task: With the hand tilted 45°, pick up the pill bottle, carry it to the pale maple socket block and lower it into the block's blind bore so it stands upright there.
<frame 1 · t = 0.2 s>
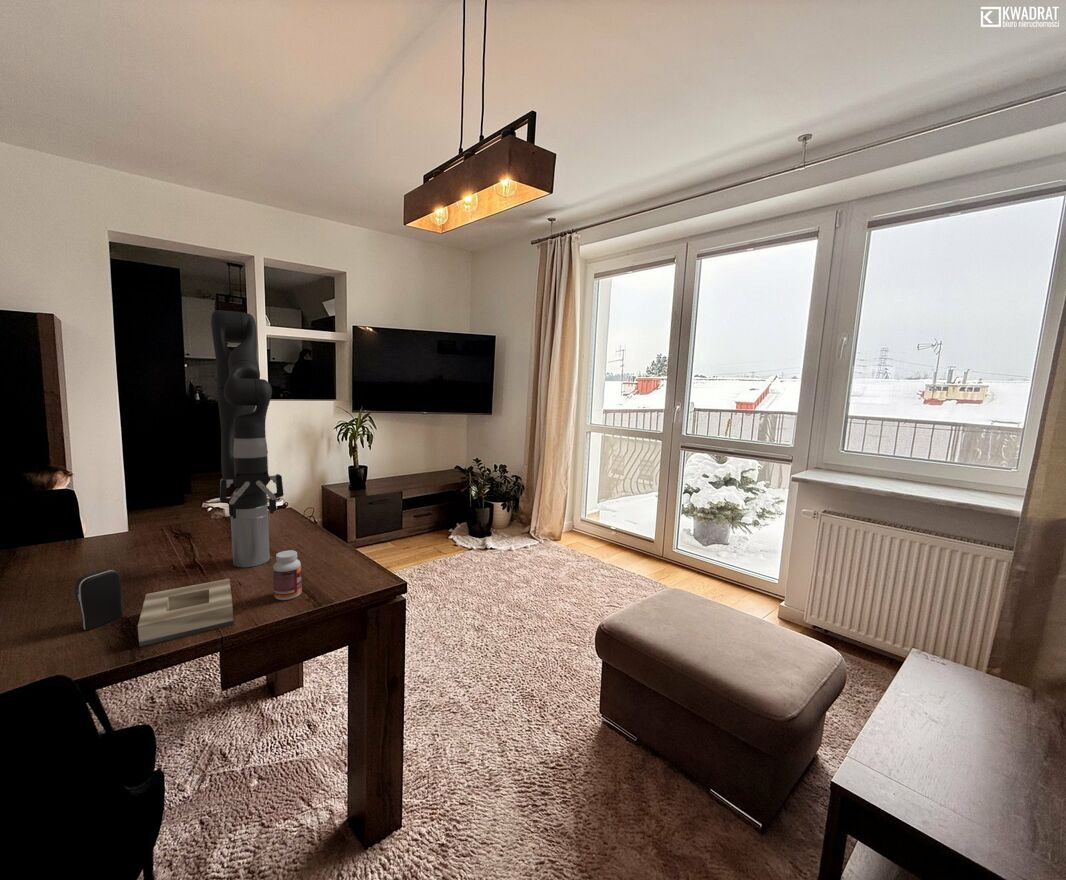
hand: (253, 515, 121), 18 cm above the table, tool pointing down, fingers open, 8 cm apart
pill bottle: (288, 595, 116), on the table
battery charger: (100, 623, 101), on the table
socket block: (189, 618, 104), on the table
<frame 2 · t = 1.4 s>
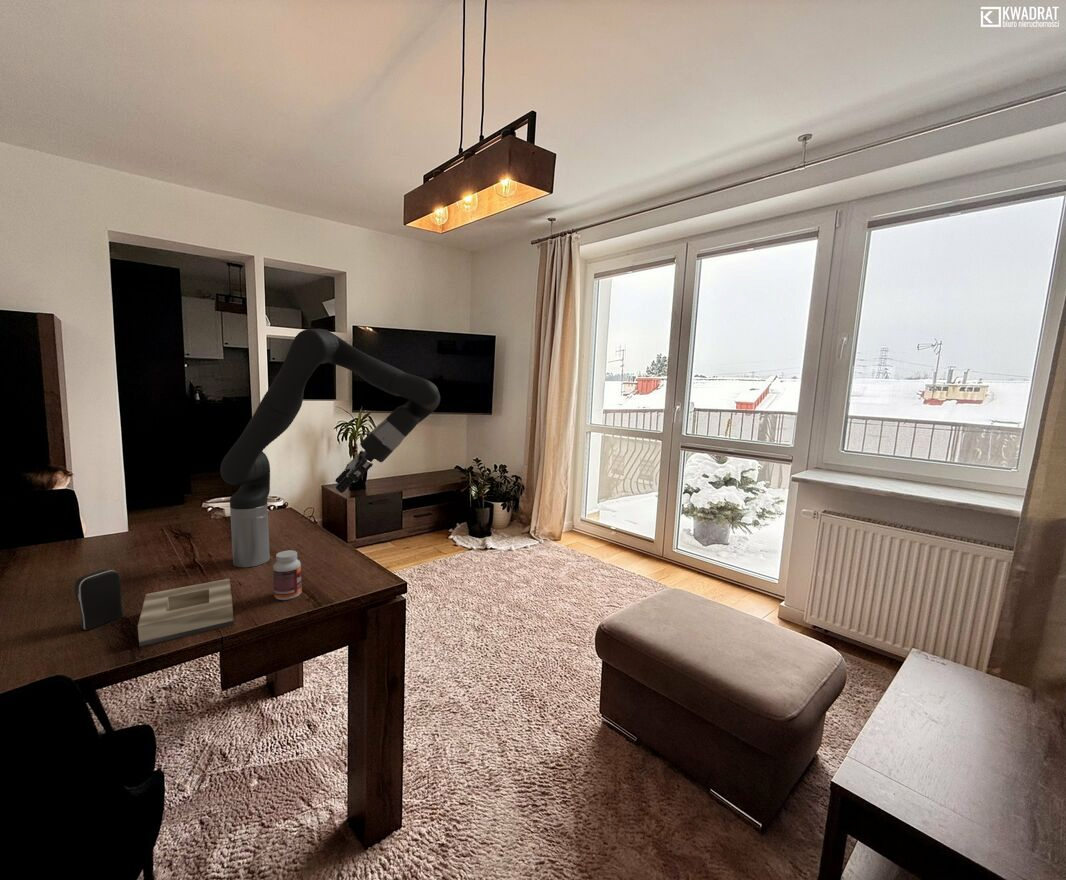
hand: (338, 486, 118), 27 cm above the table, tool tilted 45°, fingers open, 8 cm apart
nothing on the table moved.
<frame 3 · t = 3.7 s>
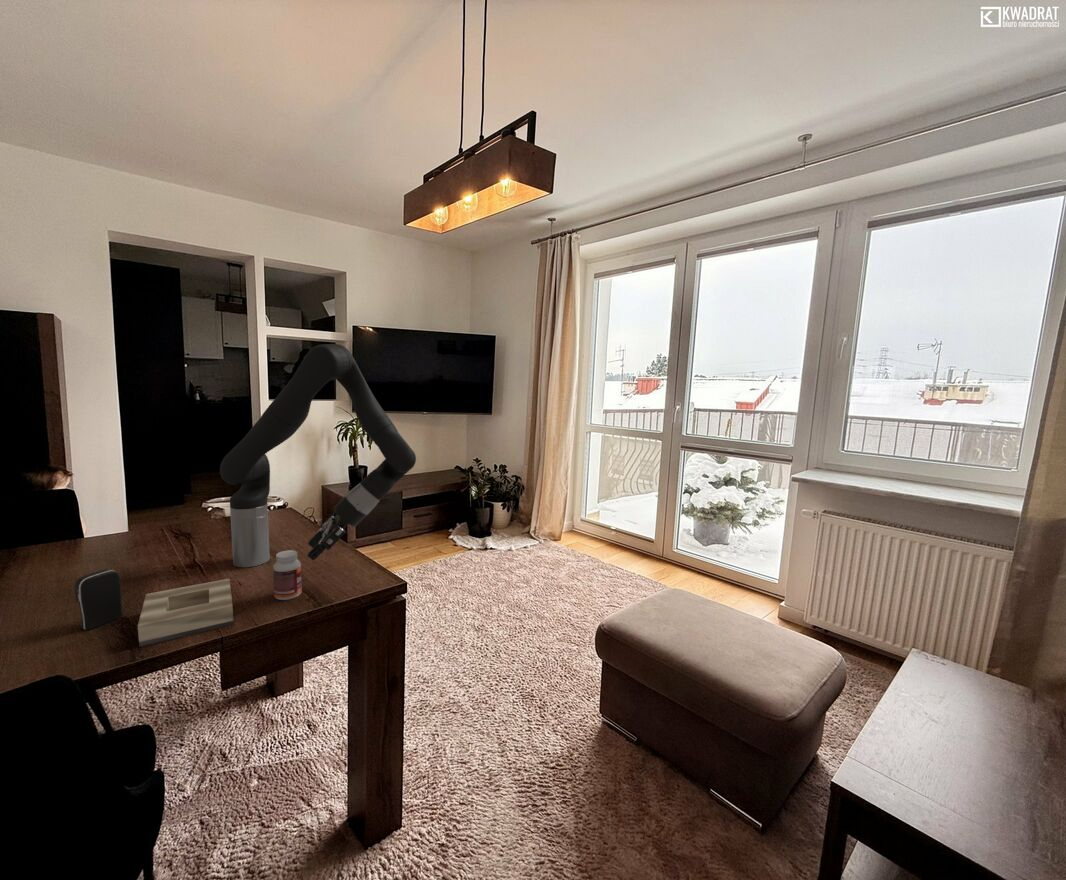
hand: (310, 551, 117), 11 cm above the table, tool tilted 45°, fingers open, 8 cm apart
nothing on the table moved.
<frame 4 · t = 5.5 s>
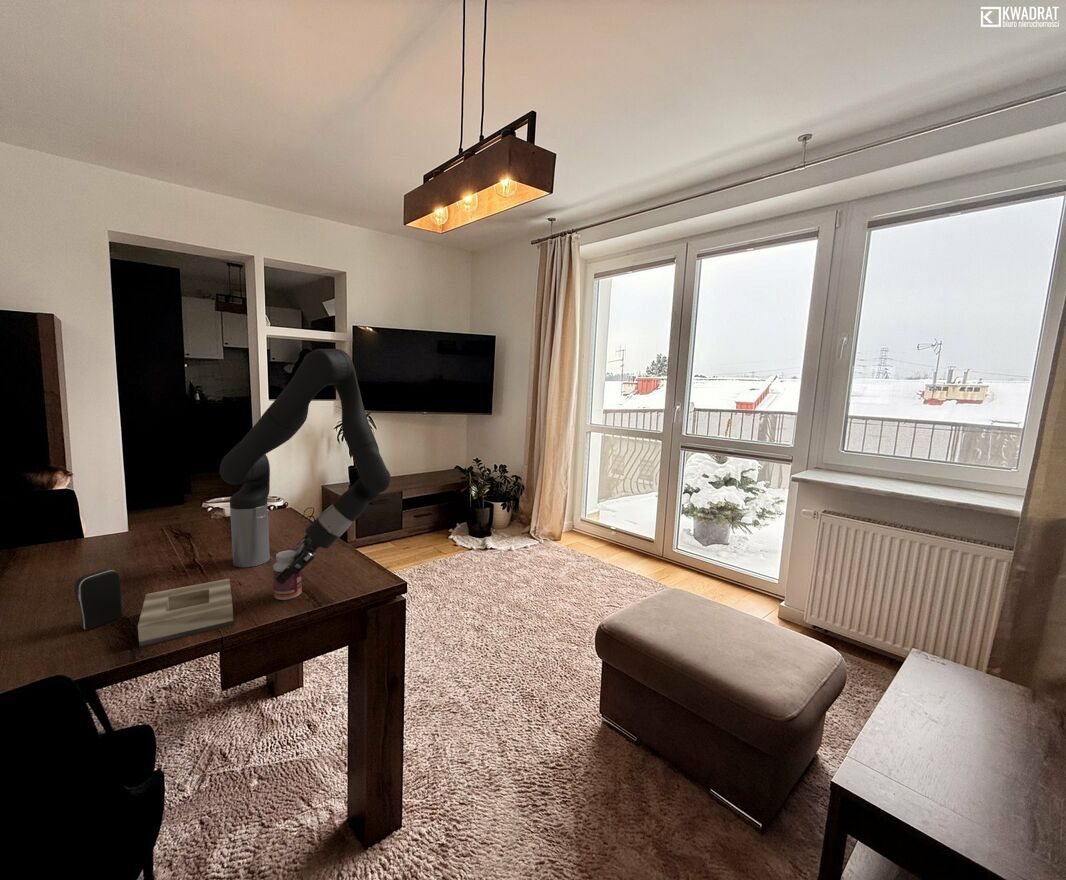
hand: (279, 576, 115), 5 cm above the table, tool tilted 45°, fingers closed on pill bottle, 6 cm apart
pill bottle: (288, 595, 116), on the table, touching gripper
everything else where it was.
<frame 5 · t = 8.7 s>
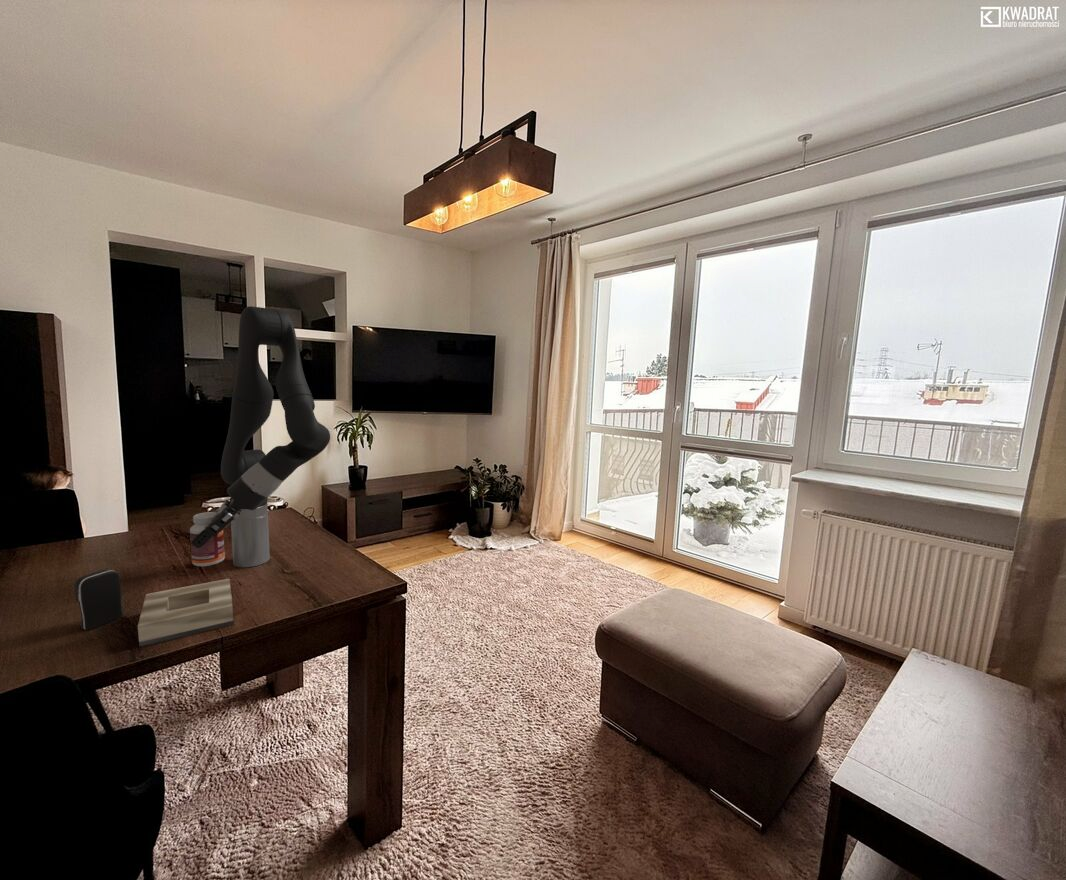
hand: (198, 540, 103), 18 cm above the table, tool tilted 45°, fingers closed on pill bottle, 6 cm apart
pill bottle: (208, 562, 104), point 12 cm above the table, touching gripper
everything else where it was.
when the fingers open (8 cm above the table, at t = 12.1 s): pill bottle drops 1 cm, resting on socket block.
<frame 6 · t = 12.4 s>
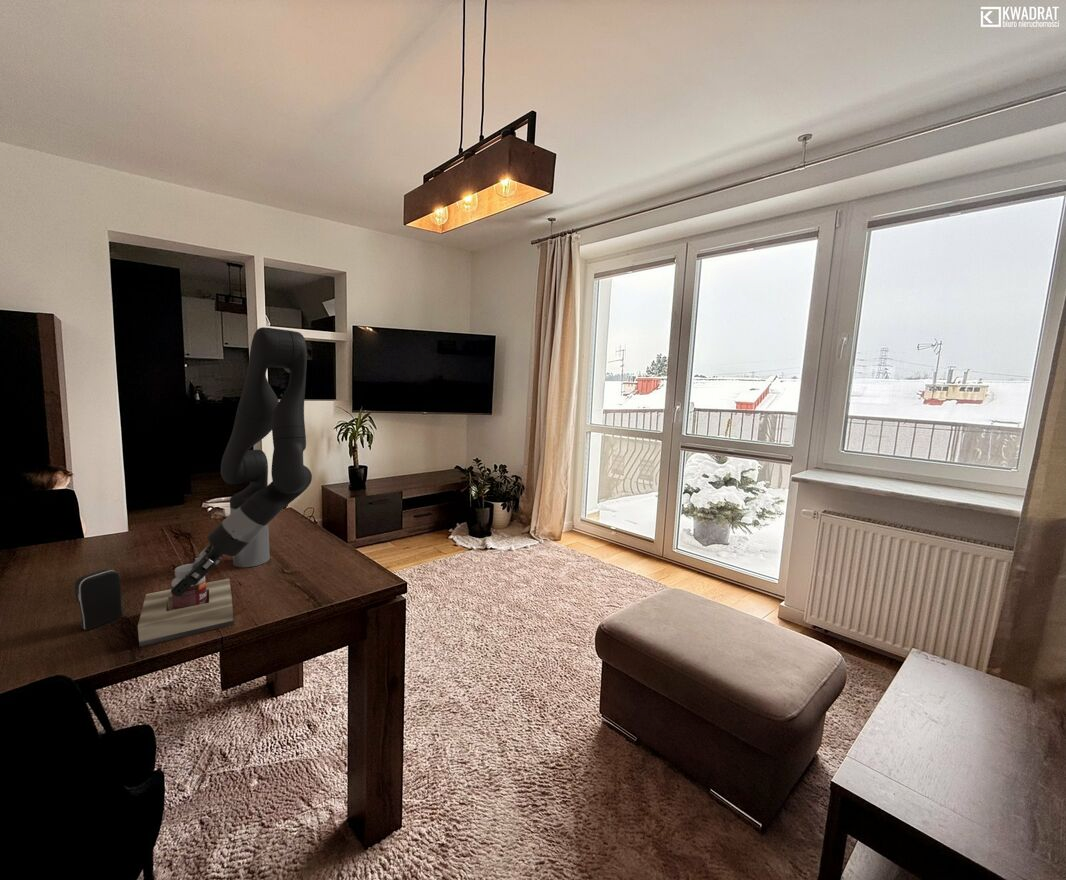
hand: (180, 585, 102), 8 cm above the table, tool tilted 45°, fingers open, 8 cm apart
pill bottle: (190, 614, 104), point 1 cm above the table, touching socket block
everything else where it was.
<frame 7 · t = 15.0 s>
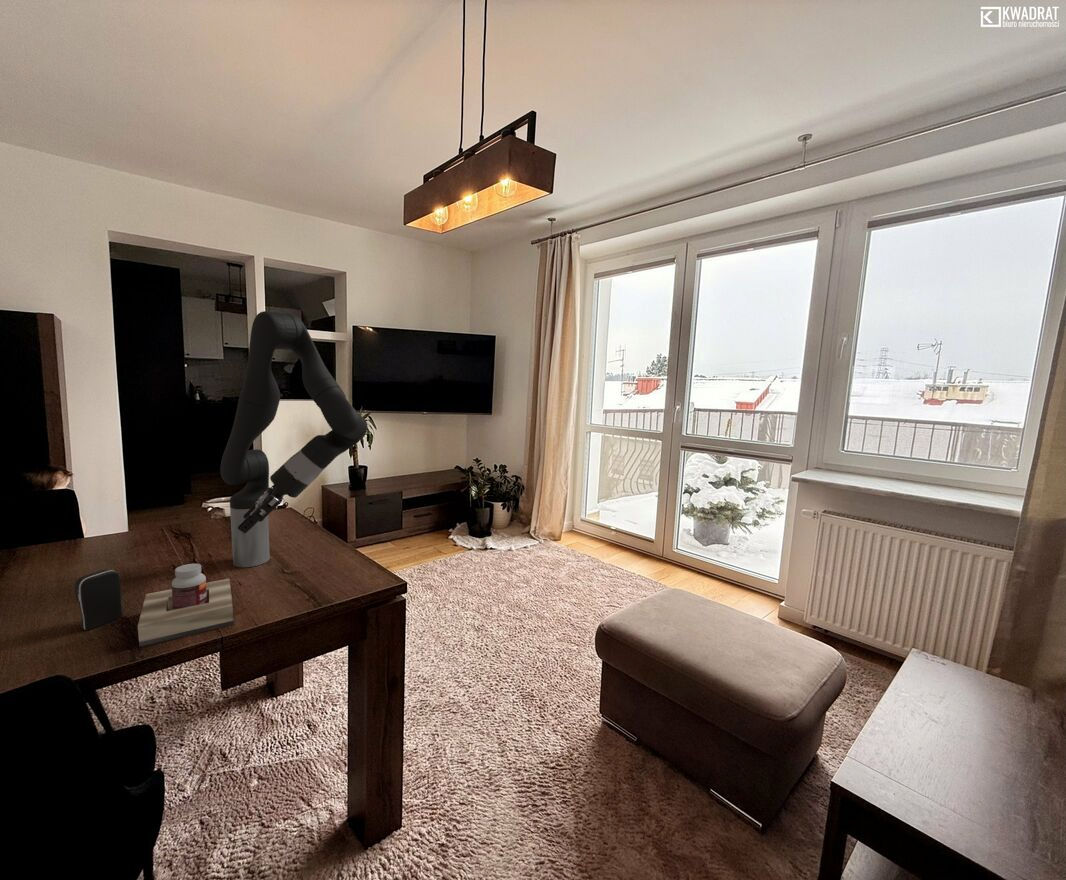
hand: (243, 524, 106), 21 cm above the table, tool tilted 45°, fingers open, 8 cm apart
nothing on the table moved.
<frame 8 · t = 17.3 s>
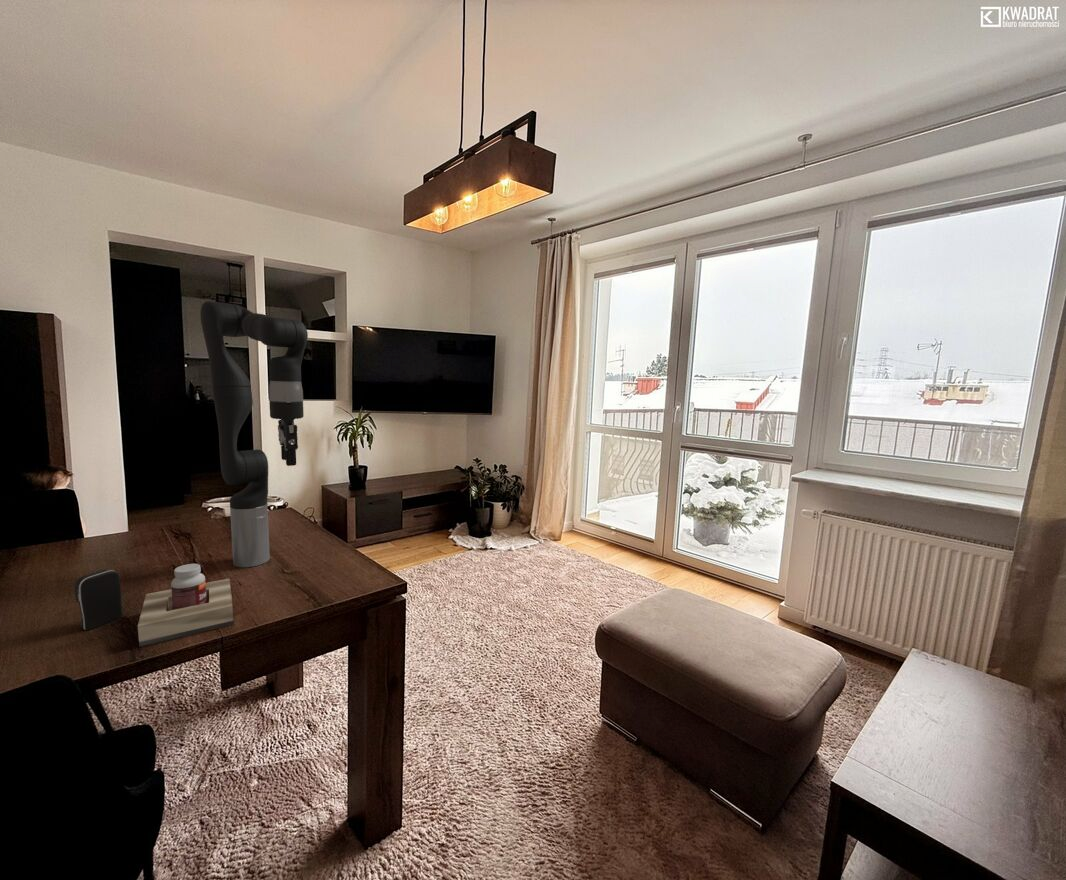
hand: (288, 462, 117), 33 cm above the table, tool pointing down, fingers open, 8 cm apart
nothing on the table moved.
at the end: pill bottle 0.2 cm off-centre on the socket block, point 0.8 cm above the socket block's base; pill bottle tilted 0°; the gripper is holding nothing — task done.
